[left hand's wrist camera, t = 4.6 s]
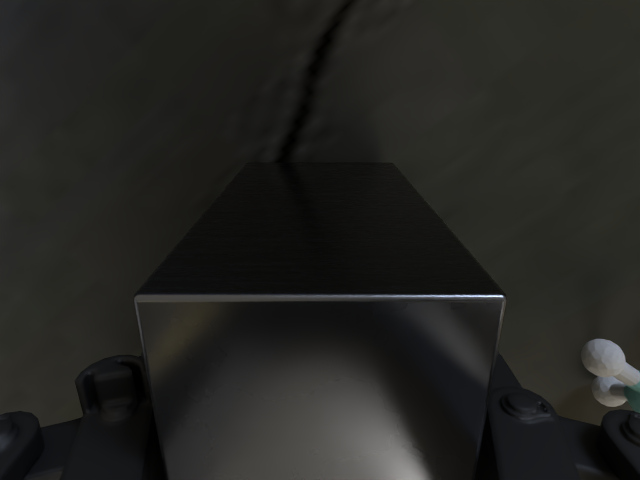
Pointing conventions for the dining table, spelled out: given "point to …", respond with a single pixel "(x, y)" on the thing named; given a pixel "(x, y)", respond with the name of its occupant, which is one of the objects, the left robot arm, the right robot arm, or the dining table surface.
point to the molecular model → (611, 374)
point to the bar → (320, 333)
